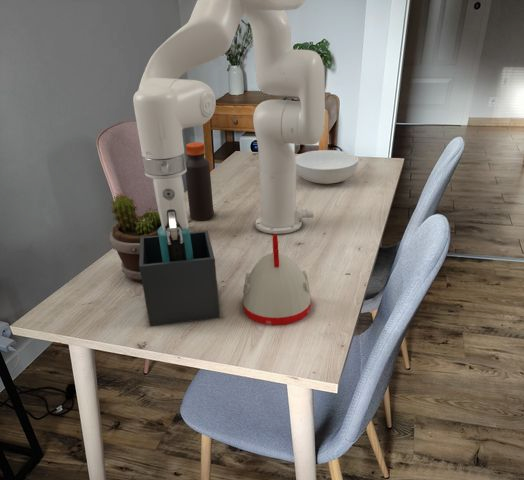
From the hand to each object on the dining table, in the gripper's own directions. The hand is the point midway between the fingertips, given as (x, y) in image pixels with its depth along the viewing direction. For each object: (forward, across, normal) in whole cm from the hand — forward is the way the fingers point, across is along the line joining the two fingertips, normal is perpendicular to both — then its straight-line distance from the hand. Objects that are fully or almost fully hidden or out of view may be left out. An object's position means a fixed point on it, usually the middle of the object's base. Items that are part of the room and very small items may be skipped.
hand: (177, 251), depth 106 cm
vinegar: (+13, +49, -8) cm, 51 cm away
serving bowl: (+13, +72, -51) cm, 89 cm away
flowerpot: (+12, +16, +7) cm, 22 cm away
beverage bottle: (+11, 0, 0) cm, 11 cm away
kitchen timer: (+12, -6, -19) cm, 23 cm away
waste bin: (+12, 0, 0) cm, 12 cm away
